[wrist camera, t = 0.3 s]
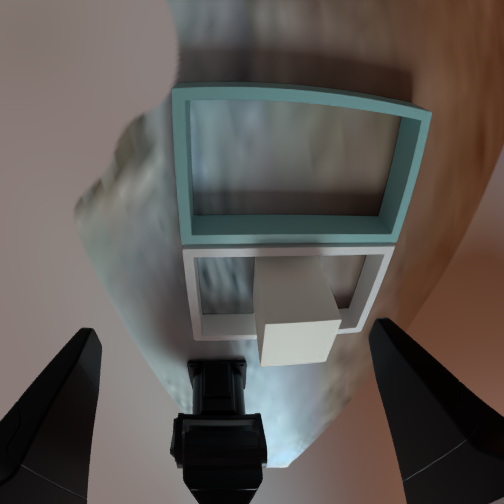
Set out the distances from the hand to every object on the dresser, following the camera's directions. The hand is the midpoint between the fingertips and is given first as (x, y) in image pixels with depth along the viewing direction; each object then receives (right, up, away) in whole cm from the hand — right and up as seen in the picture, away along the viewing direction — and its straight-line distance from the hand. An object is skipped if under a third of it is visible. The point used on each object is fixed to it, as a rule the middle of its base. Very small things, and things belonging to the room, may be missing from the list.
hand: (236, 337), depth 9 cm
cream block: (+3, 0, +17) cm, 17 cm away
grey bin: (+3, 0, +17) cm, 17 cm away
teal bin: (+4, +9, +11) cm, 14 cm away
